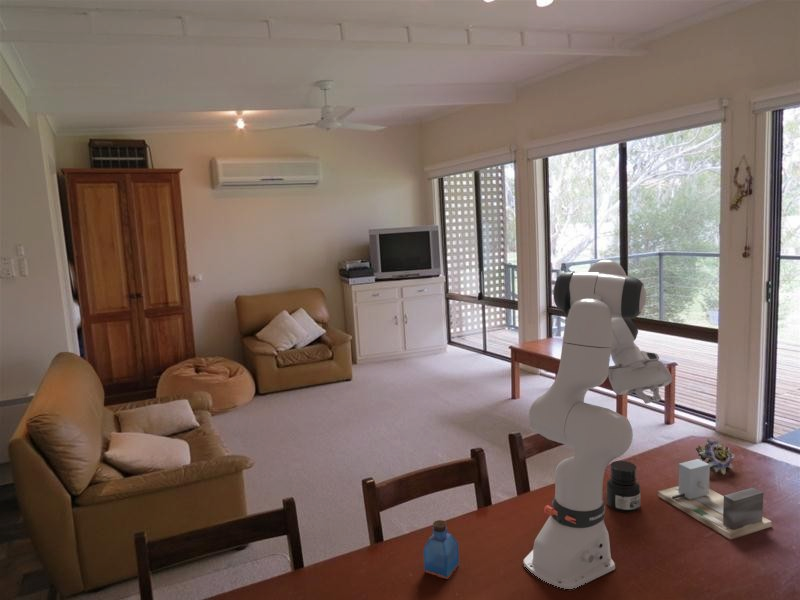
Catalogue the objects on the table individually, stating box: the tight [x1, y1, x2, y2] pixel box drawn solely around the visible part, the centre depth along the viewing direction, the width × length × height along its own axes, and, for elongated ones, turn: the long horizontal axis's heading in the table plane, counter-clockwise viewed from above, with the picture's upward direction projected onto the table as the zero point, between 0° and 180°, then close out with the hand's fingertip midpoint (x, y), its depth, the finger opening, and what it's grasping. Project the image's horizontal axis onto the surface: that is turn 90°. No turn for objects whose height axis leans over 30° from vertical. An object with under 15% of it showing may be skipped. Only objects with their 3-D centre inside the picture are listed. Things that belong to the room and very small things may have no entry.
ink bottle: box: [606, 460, 641, 513], centre depth 158 cm, size 10×9×12 cm
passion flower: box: [695, 437, 736, 476], centre depth 177 cm, size 11×11×12 cm
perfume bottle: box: [422, 519, 460, 577], centre depth 134 cm, size 6×6×12 cm
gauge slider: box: [672, 458, 711, 499], centre depth 157 cm, size 6×11×9 cm, turn 109°
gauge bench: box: [657, 485, 772, 540], centre depth 153 cm, size 24×14×10 cm, turn 19°
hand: (653, 401), depth 168 cm, fingers open, 2 cm apart
